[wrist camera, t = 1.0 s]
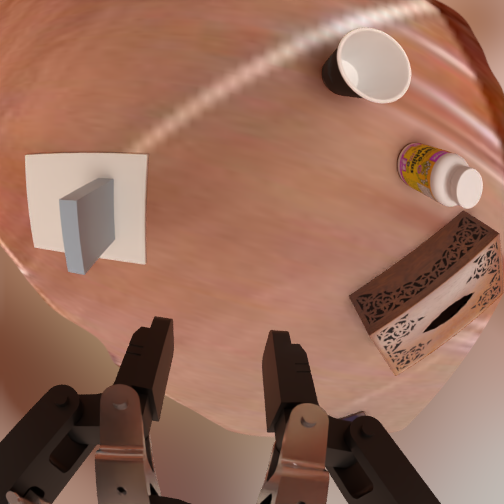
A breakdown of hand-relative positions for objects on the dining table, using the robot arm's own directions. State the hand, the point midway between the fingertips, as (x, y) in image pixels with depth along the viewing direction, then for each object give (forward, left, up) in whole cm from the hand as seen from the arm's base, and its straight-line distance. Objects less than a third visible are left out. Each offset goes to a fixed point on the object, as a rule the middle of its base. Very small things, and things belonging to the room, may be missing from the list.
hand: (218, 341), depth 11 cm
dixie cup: (-12, +16, -27) cm, 34 cm away
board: (-3, -23, -27) cm, 36 cm away
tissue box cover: (+22, +29, -28) cm, 46 cm away
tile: (-1, -18, -27) cm, 32 cm away
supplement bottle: (+1, +26, -27) cm, 38 cm away
